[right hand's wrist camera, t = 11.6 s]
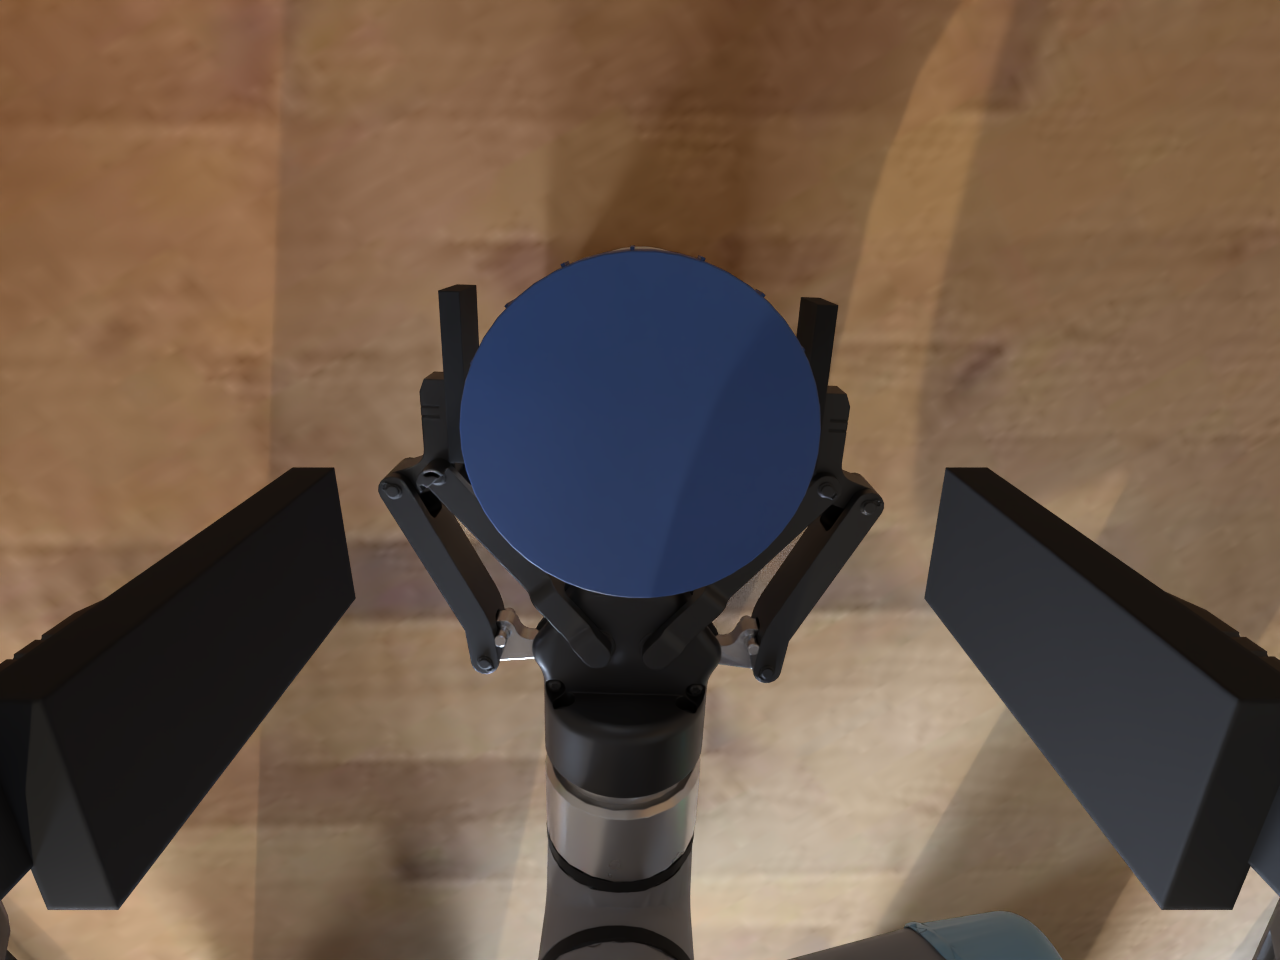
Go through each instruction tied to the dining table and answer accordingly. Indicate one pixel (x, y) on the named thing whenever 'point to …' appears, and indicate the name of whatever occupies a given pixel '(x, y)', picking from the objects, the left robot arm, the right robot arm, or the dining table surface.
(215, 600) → the right robot arm
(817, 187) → the dining table surface
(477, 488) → the lid
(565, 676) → the left robot arm
